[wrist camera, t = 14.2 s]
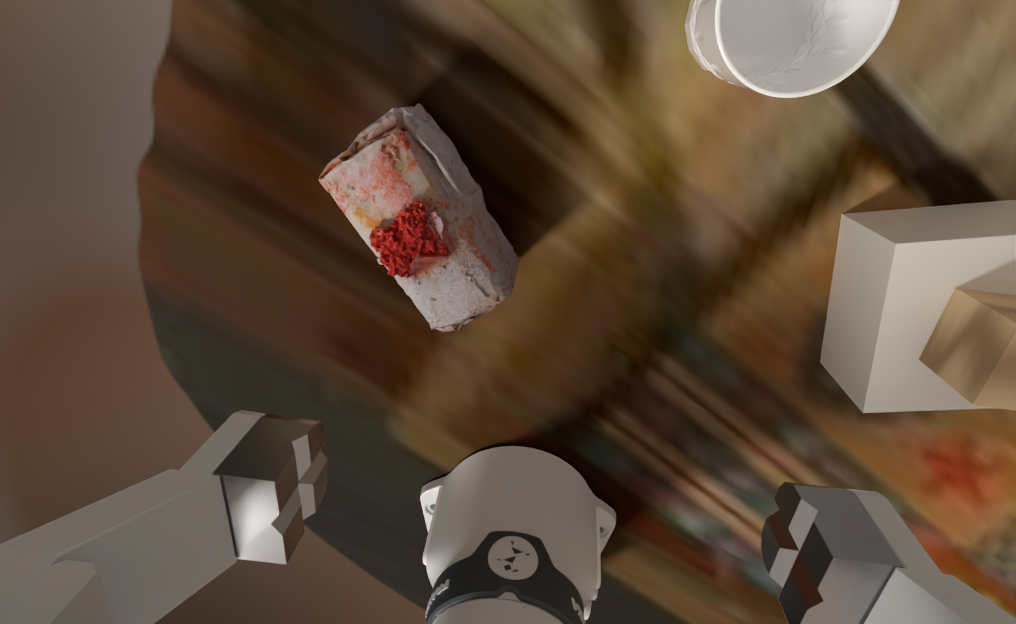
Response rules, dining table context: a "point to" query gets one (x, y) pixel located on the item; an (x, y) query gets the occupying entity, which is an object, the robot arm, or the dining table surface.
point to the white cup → (786, 41)
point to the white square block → (909, 296)
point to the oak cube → (976, 347)
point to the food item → (424, 217)
